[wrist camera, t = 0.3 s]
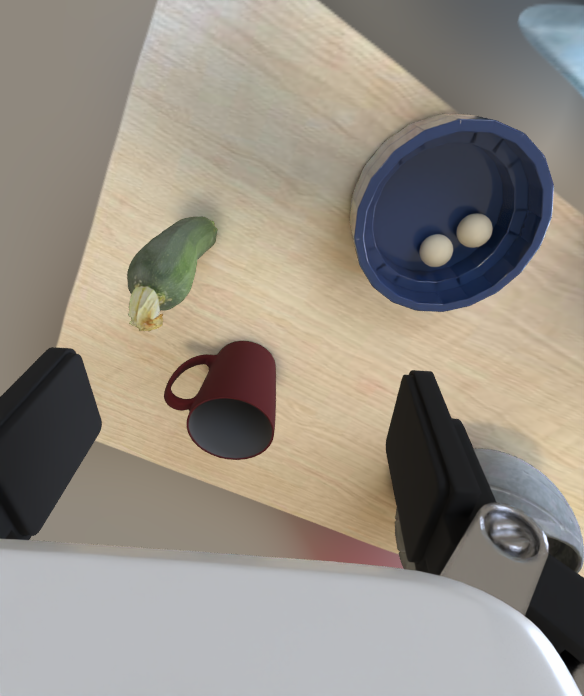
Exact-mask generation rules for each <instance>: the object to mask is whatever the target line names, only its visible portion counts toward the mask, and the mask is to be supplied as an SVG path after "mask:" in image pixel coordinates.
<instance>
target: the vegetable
mask: <svg viewBox="0 0 584 696" xmlns="http://www.w3.org/2000/svg"><path fill="white" fill-rule="evenodd" d="M216 234H217V228H216V227H215V226H214V222H213V221H210V220H209V219H207V218H206V217H189V218H184V219H182V220H180V221H178V222H176V223H175V224H173V225H172V226H170V227H169V228H167V229H166V230H165V231H163V232H162V233H161V234H159V235H158V236H156V237H155V238H153V239H152V240H151V241H150V242H149V243H147V244H146V245H145V246H144V247H143V248H142V249H141V250H140V251H139V252H138V253H137V254H136V255H135V257H134V258H133V260H132V261H131V263H130V266H129V269H128V274H127V279H128V289H129V291H130V293H131V294H132V295H131V298H130V303H129V313H128V315H129V317H131V321H130V323H129V324H131V325H132V326H135V327H137V328H139V331H147V330H148V331H151V330H153V329H157V328H159V327H160V326H162V323H163V318H162V316H163V314H160V315H159V316H158V314H159V312H160V310H169V309H171V308H173V307H175V306H176V305H178V304H179V303H180V302H182V301H183V300H184V299H185V297H186V296H187V295H188V293H189V292H190V289H191V286H192V283H193V279H194V275H195V272H196V265H197V259H199V258H200V257H201V256H202V255H203V254H204V253H205V252H206V251H207V250H208V249H209V248H211V247H212V246H213V245H214V243H215V241H216ZM157 316H158V317H157Z"/></svg>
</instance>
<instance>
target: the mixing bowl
mask: <svg viewBox="0 0 584 696" xmlns="http://www.w3.org/2000/svg"><path fill="white" fill-rule="evenodd" d="M553 185H554V184H553V181H552V178H551V174H550V171H549V168H548V165H547V162H546V158H545V156H544V155H543V154H542V152H541V151H540V150H539V149H538V148H537V147H536V146H535V144H534V143H533V142H532V141H531V140H530V139H529V138H528V136H527V135H526V134H524V133H523V132H521V131H519V130H517V129H514V128H512V127H510V126H508V125H505V124H503V123H501V122H499V121H496V120H493V119H488V118H483V117H479V116H474V115H465V114H439V115H436V116H432V117H429V118H426V119H423V120H420V121H417V122H413V123H411V124H409V125H408V126H406V127H405V128H403V129H402V130H401V131H399V132H398V133H396V134H395V135H393V136H392V137H390V138H389V139H388V140H386V141H385V142H384V143H383V144H382V145H381V146H380V148H379V149H378V150H377V151H376V153H375V154H374V155H373V156H372V157H371V159H370V160H369V161H368V162H367V164H366V165H365V166H364V168H363V170H362V173H361V175H360V177H359V180H358V182H357V184H356V187H355V189H354V191H353V195H352V202H351V211H350V226H351V231H352V236H353V240H354V245H355V249H356V253H357V257H358V261H359V265H360V267H361V269H362V270H363V272H364V274H365V275H366V277H367V278H368V280H369V282H370V283H371V285H372V286H373V287H374V288H375V289H376V290H377V291H379V292H380V293H381V294H382V295H384V296H385V297H386V298H388V299H389V300H390V301H391V302H393V303H396V304H399V305H402V306H405V307H407V308H410V309H413V310H417V311H436V312H444V311H449V310H453V309H458V308H462V307H467V306H470V305H473V304H475V303H477V302H479V301H481V300H483V299H485V298H487V297H489V296H491V295H493V294H495V293H497V292H498V291H500V290H501V289H502V288H503V287H504V286H506V285H507V284H508V283H509V282H510V281H512V280H513V279H514V278H515V277H516V276H518V275H519V274H520V273H521V272H522V271H523V269H524V268H525V267H526V265H527V264H528V262H529V261H530V260H531V258H532V257H533V256H534V254H535V253H536V252H537V250H538V249H539V248H540V246H541V244H542V241H543V239H544V236H545V233H546V231H547V228H548V226H549V223H550V221H551V218H552V217H551V216H552V207H553V191H554V186H553ZM476 213H478V214H483V215H485V216H486V217H488V218H489V219H490V221H491V223H492V227H493V230H492V234H491V237H490V238H489V240H488V241H487V242H486V243H485V244H483V245H481V246H479V247H474V248H471V247H466V246H464V245H463V244H461V243H460V242H459V240H458V238H457V227H458V225H459V223H460V222H461V220H462V219H463V218H465V217H466V216H468V215H471V214H476ZM436 234H440V235H444V236H446V237H447V238H448V239H449V240H450V241H451V243H452V245H453V253H452V256H451V258H450V260H449V261H448V262H447V263H445V264H444V265H442V266H439V267H431V266H428V265H426V264H425V263H424V262H423V261H422V260H421V258H420V254H419V250H420V246H421V244H422V242H423V241H424V240H425V239H426V238H427V237H429V236H431V235H436Z"/></svg>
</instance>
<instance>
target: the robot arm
mask: <svg viewBox="0 0 584 696" xmlns="http://www.w3.org/2000/svg"><path fill="white" fill-rule="evenodd" d="M101 426H102V421H101V417H100V414H99V411H98V408H97V405H96V402H95V398H94V395H93V392H92V389H91V386H90V383H89V379H88V376H87V373H86V370H85V367H84V363H83V360H82V358H81V356H80V355H79V354H76V352H75V351H74V350H73V349H69V348H53V347H52V348H49V349H48V350H46V352H45V353H43V355H42V356H41V357H39V358H38V359H37V361H35V363H34V364H33V365H32V366H31V367H30V368H29V369H28V370H27V371H26V372H25V373H24V374H23V375H22V376H21V377H20V378H19V379H18V380H17V381H16V382H15V383H14V384H13V385H12V386H11V387H10V388H9V389H8V390H7V391H6V392H5V393H4V394H3V395H2V396H1V397H0V696H584V578H583V577H582V576H580V575H579V574H577V573H576V572H574V571H573V570H572V569H570V568H569V567H567V566H566V565H565V564H563V563H562V562H560V561H559V560H558V559H556V558H555V557H553V556H552V555H550V554H549V553H548V551H549V544H548V541H547V537H546V535H545V534H544V532H543V530H542V528H541V527H540V526H539V525H538V524H537V523H536V521H535V520H534V519H533V518H532V517H530V516H529V515H528V514H526V513H525V512H524V511H522V510H520V509H518V508H516V507H514V506H512V505H508V504H504V503H497V502H496V500H495V497H494V495H493V493H492V490H491V488H490V486H489V483H488V481H487V479H486V477H485V474H484V472H483V470H482V467H481V465H480V463H479V460H478V458H477V456H476V453H475V451H474V449H473V446H472V444H471V442H470V439H469V437H468V435H467V433H466V430H465V428H464V426H463V424H462V422H461V421H460V420H459V419H452V418H451V416H450V414H449V411H448V409H447V406H446V404H445V401H444V399H443V396H442V394H441V391H440V389H439V386H438V384H437V381H436V379H435V377H434V374H433V373H432V372H431V371H415V370H412V371H410V373H409V375H403V377H402V381H401V385H400V388H399V392H398V396H397V400H396V404H395V408H394V412H393V416H392V419H391V423H390V427H389V431H388V435H387V439H386V453H387V459H388V464H389V469H390V474H391V479H392V484H393V490H394V495H395V500H396V505H397V510H398V515H399V521H400V526H401V531H402V536H403V541H404V546H405V552H406V556H407V560H408V561H409V562H414V564H415V569H416V571H414V570H407V569H400V568H393V567H384V566H373V565H363V564H351V563H341V562H329V561H317V560H305V559H292V558H278V557H264V556H251V555H239V554H225V553H211V552H197V551H182V550H169V549H154V548H140V547H125V546H110V545H94V544H80V543H64V542H49V541H34V540H29V539H30V538H31V536H34V535H36V534H37V533H38V532H39V531H40V530H41V528H42V526H43V525H44V523H45V521H46V520H47V518H48V516H49V515H50V513H51V511H52V510H53V508H54V507H55V505H56V503H57V502H58V500H59V498H60V497H61V495H62V494H63V492H64V490H65V489H66V487H67V485H68V484H69V482H70V480H71V479H72V477H73V475H74V474H75V472H76V470H77V469H78V467H79V466H80V464H81V462H82V461H83V459H84V457H85V456H86V454H87V452H88V451H89V449H90V447H91V446H92V444H93V443H94V441H95V439H96V438H97V436H98V434H99V433H100V430H101Z"/></svg>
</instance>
